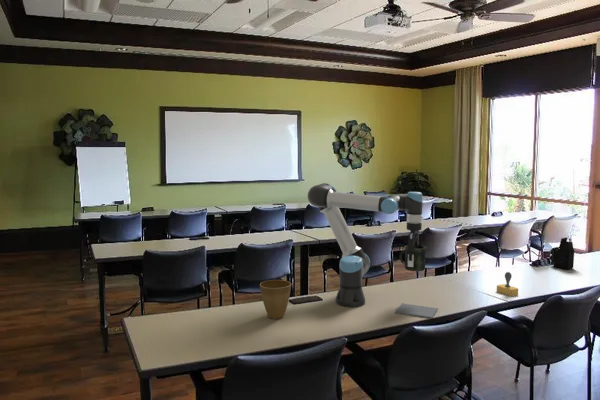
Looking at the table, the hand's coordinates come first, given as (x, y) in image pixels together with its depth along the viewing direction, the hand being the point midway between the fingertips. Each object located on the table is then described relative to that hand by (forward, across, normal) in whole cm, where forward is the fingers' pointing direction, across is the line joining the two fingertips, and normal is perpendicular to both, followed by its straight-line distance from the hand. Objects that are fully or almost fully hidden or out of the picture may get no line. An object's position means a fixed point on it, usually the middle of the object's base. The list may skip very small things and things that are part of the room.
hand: (412, 264), depth 260 cm
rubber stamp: (+20, +36, -45) cm, 61 cm away
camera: (+20, +111, -76) cm, 136 cm away
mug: (+3, -1, 0) cm, 3 cm away
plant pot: (+20, -49, +55) cm, 76 cm away
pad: (+20, -15, -6) cm, 25 cm away
